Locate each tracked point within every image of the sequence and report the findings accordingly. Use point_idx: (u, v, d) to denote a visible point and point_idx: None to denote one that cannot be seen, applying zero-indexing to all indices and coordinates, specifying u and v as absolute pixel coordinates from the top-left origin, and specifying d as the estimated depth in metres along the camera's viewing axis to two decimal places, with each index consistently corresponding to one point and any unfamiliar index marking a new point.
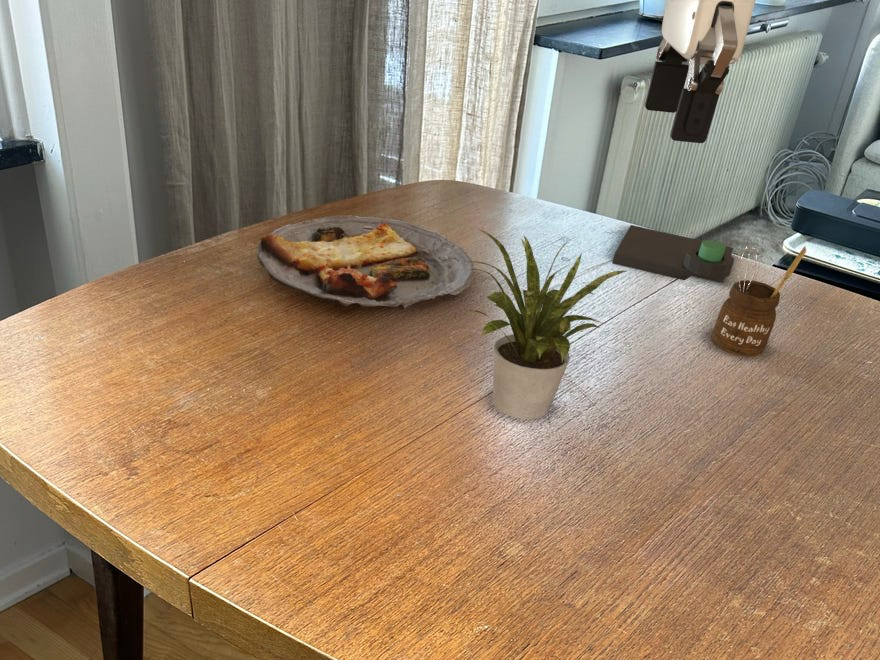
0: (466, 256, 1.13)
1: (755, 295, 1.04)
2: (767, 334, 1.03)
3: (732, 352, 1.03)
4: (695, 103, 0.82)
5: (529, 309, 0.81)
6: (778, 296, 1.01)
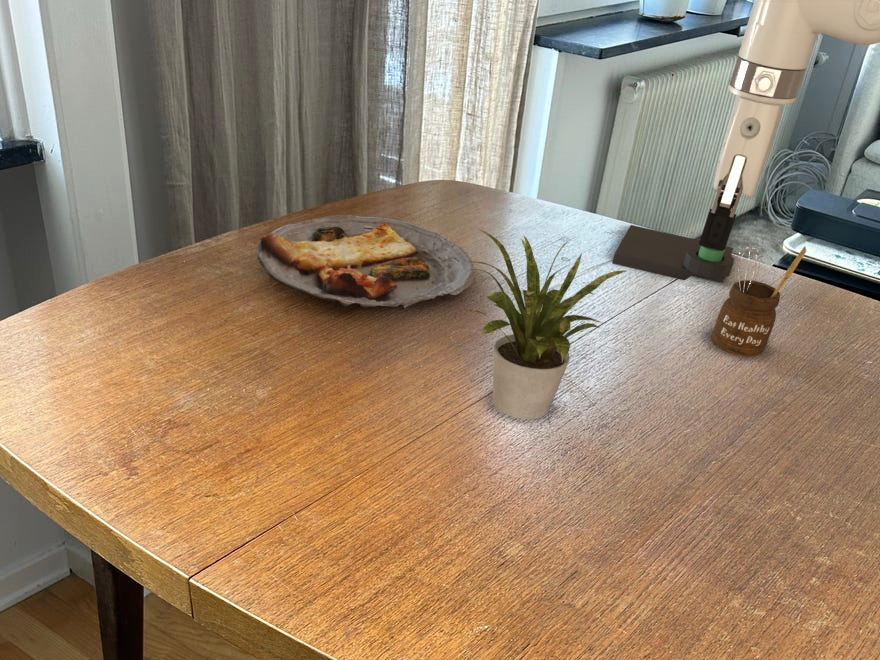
0: (466, 256, 1.13)
1: (755, 295, 1.04)
2: (767, 334, 1.03)
3: (732, 352, 1.03)
4: (715, 222, 1.15)
5: (529, 309, 0.81)
6: (778, 296, 1.01)
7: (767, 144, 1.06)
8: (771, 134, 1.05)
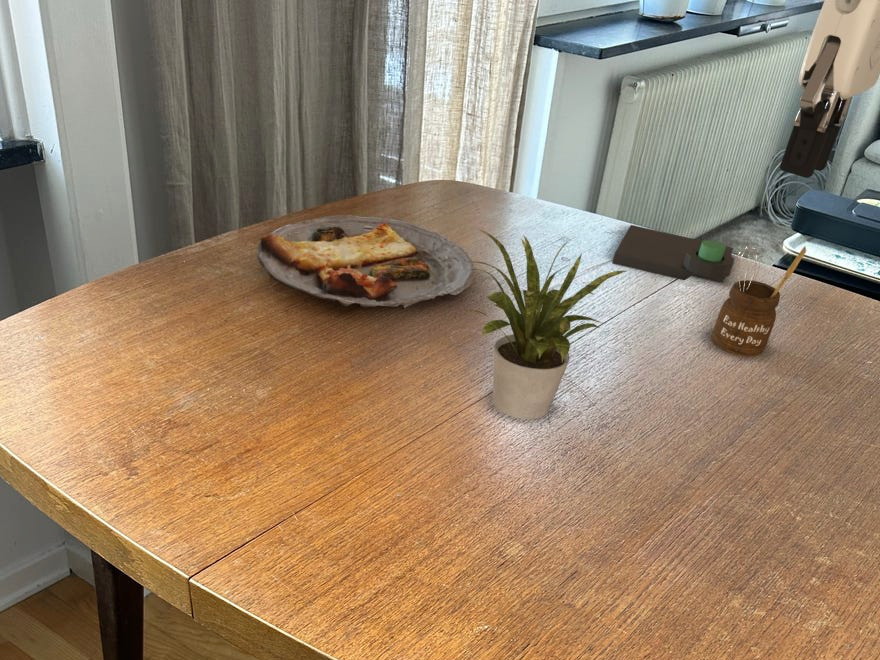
0: (466, 256, 1.13)
1: (755, 295, 1.04)
2: (767, 334, 1.03)
3: (732, 352, 1.03)
4: (799, 138, 0.90)
5: (529, 309, 0.81)
6: (778, 296, 1.01)
7: (869, 21, 0.81)
8: (876, 8, 0.80)
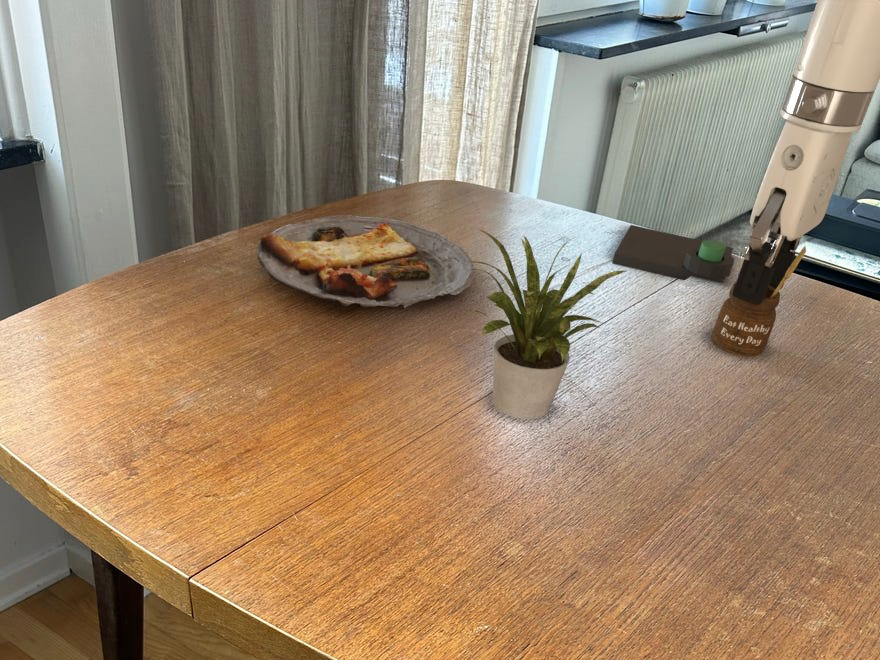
0: (466, 256, 1.13)
1: None
2: (767, 334, 1.03)
3: (732, 352, 1.03)
4: (749, 270, 0.97)
5: (529, 309, 0.81)
6: (778, 296, 1.01)
7: (811, 178, 0.89)
8: (817, 166, 0.88)
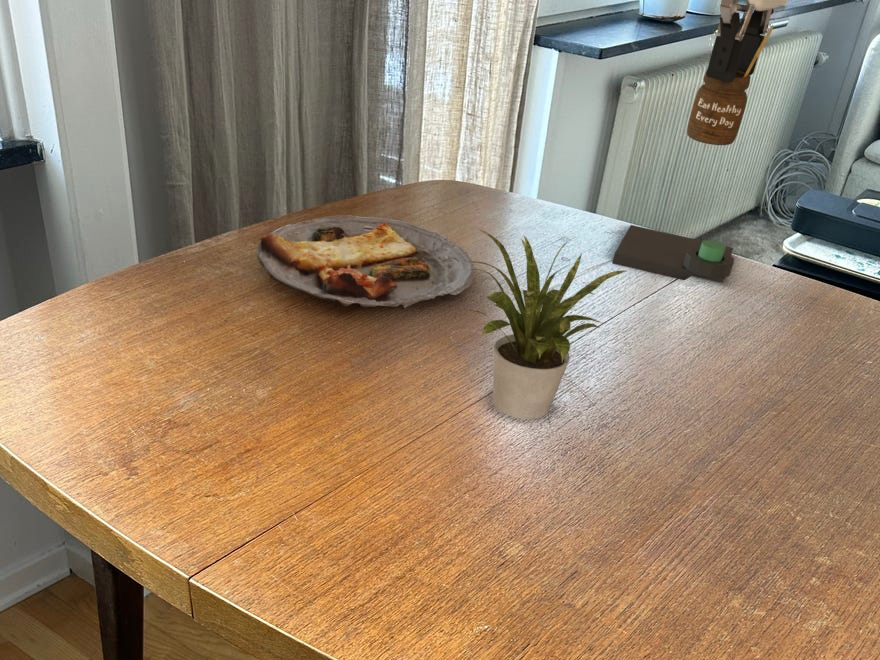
0: (466, 256, 1.13)
1: None
2: (739, 116, 1.10)
3: (707, 135, 1.11)
4: (720, 46, 1.05)
5: (529, 309, 0.81)
6: (748, 77, 1.08)
7: None
8: None
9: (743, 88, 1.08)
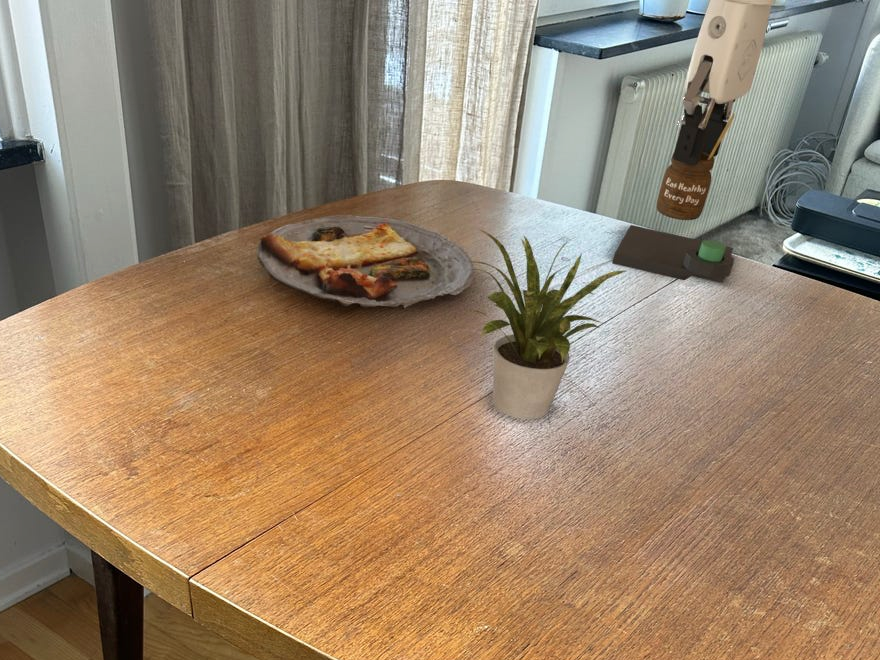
0: (466, 256, 1.13)
1: None
2: (704, 194, 1.19)
3: (674, 211, 1.20)
4: (685, 133, 1.13)
5: (529, 309, 0.81)
6: (712, 159, 1.17)
7: (733, 44, 1.05)
8: (738, 34, 1.05)
9: (707, 170, 1.17)
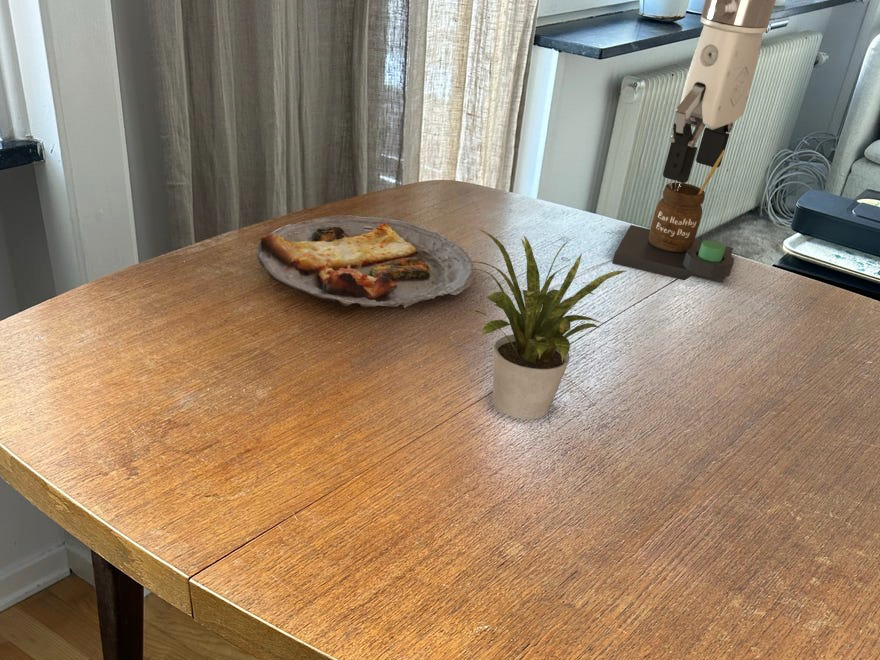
0: (466, 256, 1.13)
1: None
2: (695, 228, 1.21)
3: (665, 243, 1.22)
4: (675, 151, 1.13)
5: (529, 309, 0.81)
6: (703, 194, 1.19)
7: (725, 72, 1.07)
8: (730, 62, 1.06)
9: (698, 204, 1.20)
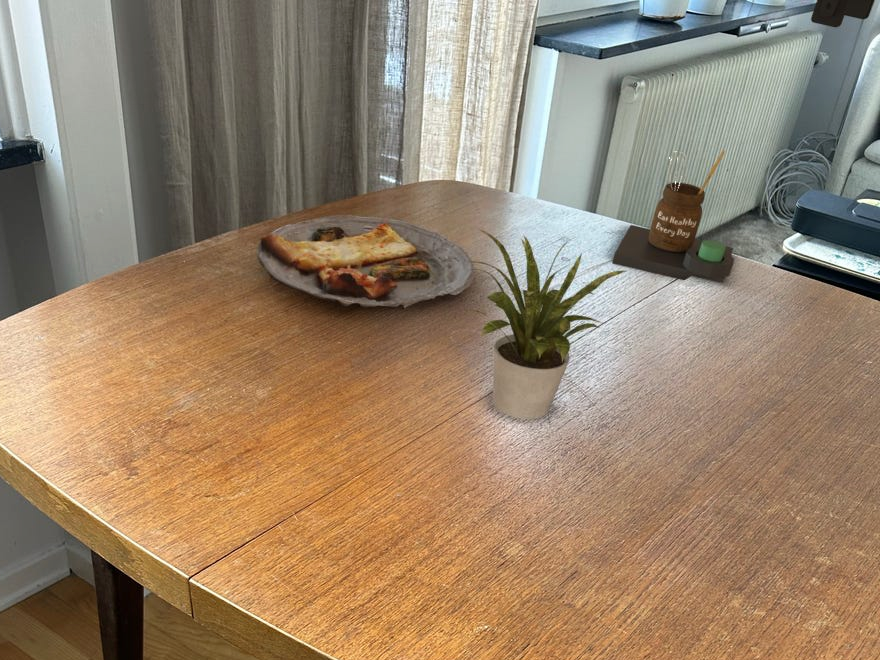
0: (466, 256, 1.13)
1: None
2: (695, 227, 1.21)
3: (665, 243, 1.22)
4: None
5: (529, 309, 0.81)
6: (703, 194, 1.19)
7: None
8: None
9: (698, 204, 1.20)
